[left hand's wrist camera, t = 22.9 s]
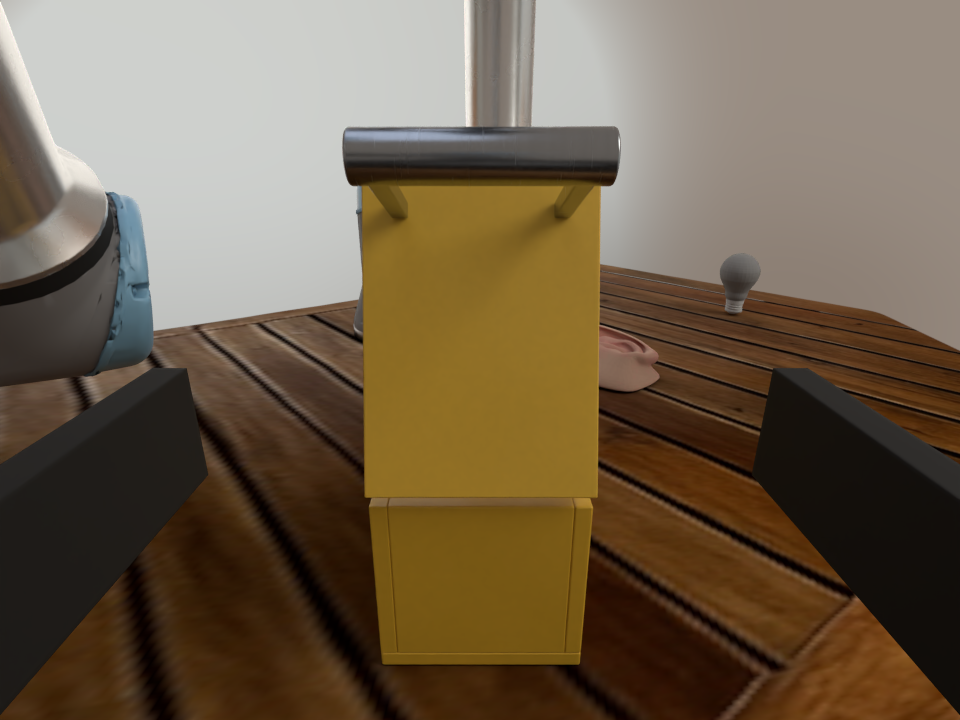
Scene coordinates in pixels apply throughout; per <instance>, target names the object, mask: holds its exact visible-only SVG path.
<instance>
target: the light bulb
mask: <svg viewBox="0 0 960 720" xmlns="http://www.w3.org/2000/svg"><path fill="white" fill-rule="evenodd" d="M759 276H760V266H759V263H758V262H757V260H756V259H755V258H754V257H753V256H751V255H748V254H744V253H740V254H735V255H732V256H730V257H729V258H728V259H726V260H725V261H724V263H723V264H722V266H721V269H720V278H721V280H722V283H723V285H724V288H725V296H726V302H727V303H726V307H725V310H726V311H727V312H729V313H731V314H737V313H740V312H742V310H741V309H742V308H741V307H743V306H742V304H743V302H744V300H745V298H746V297H747V294H748V292H749V290H750V289H751V288H752V286H753V285H754V284H755V283H756V281H757V280H758V278H759Z"/></svg>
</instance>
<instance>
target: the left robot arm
mask: <svg viewBox="0 0 960 720" xmlns="http://www.w3.org/2000/svg"><path fill="white" fill-rule="evenodd" d="M152 347H153V317H152V305H151V296H150V291H149V278H148V263H147V255H146V247H145V239H144V232H143V226H142V220H141V214H140V210H139V206H138V204H137V203H136V201H135V200H133V199H132V198H130V197H129V196H125V195H118V194H116V193H114V192H105V191H104V189H103V187H102V185H101V183H100V181H99V179H98V177H97V176H96V174H95V173H94V172H93V171H92V170H91V169H90V167H89V166H88V165H86V164H85V163H84V162H83V161H81V160H80V159H79V158H77V157H76V156H74V155H73V154H71V153H70V152H68V151H66V150H64V149H62V148H60V147H58V146H56V145H55V144H54V141H53V138H52V136H51V133H50V131H49V128H48V125H47V123H46V120H45V117H44V115H43V112H42V110H41V107H40V104H39V102H38V99H37V96H36V94H35V91H34V89H33V86H32V83H31V81H30V78H29V75H28V73H27V70H26V67H25V65H24V62H23V60H22V57H21V54H20V52H19V49H18V46H17V44H16V41H15V38H14V36H13V33H12V31H11V28H10V25H9V23H8V20H7V17H6V15H5V12H4V10H3V7H2V4H1V2H0V387H3V386H10V385H17V384H25V383H32V382H40V381H47V380H54V379H62V378H69V377H76V376H85V377H87V376H95V375H97V374H99V373H101V372H102V371H108V370H113V369H118V368H123V367H128V366H133V365H136V364H138V363H140V362H142V361H143V360H144V359H146V358H147V356H148V355H149V354H150V352H151V350H152ZM207 476H208V471H207V466H206V461H205V456H204V452H203V447H202V442H201V437H200V432H199V427H198V422H197V417H196V412H195V407H194V402H193V397H192V392H191V387H190V382H189V378H188V373H187V368H152V369H150V370H149V371H147V372H146V373H144V374H143V375H141V376H139V377H138V378H136V379H135V380H133V381H132V382H130V383H128V384H127V385H125V386H124V387H122V388H120V389H119V390H117V391H116V392H114V393H113V394H111V395H109V396H108V397H106V398H105V399H103V400H101V401H100V402H98V403H97V404H95V405H94V406H92V407H90V408H89V409H87V410H86V411H84V412H83V413H81V414H79V415H78V416H76V417H75V418H73V419H71V420H70V421H68V422H67V423H65V424H64V425H62V426H60V427H59V428H57V429H56V430H54V431H52V432H51V433H49V434H48V435H46V436H45V437H43V438H41V439H40V440H38V441H37V442H35V443H34V444H32V445H30V446H29V447H27V448H26V449H24V450H22V451H21V452H19V453H18V454H16V455H15V456H13V457H11V458H10V459H8V460H7V461H5V462H4V463H2V464H0V715H1V713H2V712H3V711H4V710H5V709H6V708H7V707H8V705H9V704H10V703H11V702H12V701H13V700H14V698H15V697H16V696H17V695H18V694H19V693H20V692H21V690H22V689H23V688H24V687H25V686H26V685H27V683H28V682H29V681H30V680H31V679H32V678H33V676H34V675H35V674H36V673H37V672H38V671H39V670H40V668H41V667H42V666H43V665H44V664H45V663H46V661H47V660H48V659H49V658H50V657H51V656H52V655H53V653H54V652H55V651H56V650H57V649H58V648H59V646H60V645H61V644H62V643H63V642H64V641H65V640H66V638H67V637H68V636H69V635H70V634H71V633H72V631H73V630H74V629H75V628H76V627H77V626H78V625H79V623H80V622H81V621H82V620H83V619H84V618H85V616H86V615H87V614H88V613H89V612H90V611H91V610H92V608H93V607H94V606H95V605H96V604H97V603H98V601H99V600H100V599H101V598H102V597H103V596H104V595H105V593H106V592H107V591H108V590H109V589H110V588H111V586H112V585H113V584H114V583H115V582H116V581H117V580H118V578H119V577H120V576H121V575H122V574H123V573H124V571H125V570H126V569H127V568H128V567H129V566H130V564H131V563H132V562H133V561H134V560H135V559H136V558H137V556H138V555H139V554H140V553H141V552H142V551H143V549H144V548H145V547H146V546H147V545H148V544H149V543H150V541H151V540H152V539H153V538H154V537H155V536H156V534H157V533H158V532H159V531H160V530H161V529H162V528H163V526H164V525H165V524H166V523H167V522H168V521H169V519H170V518H171V517H172V516H173V515H174V514H175V513H176V511H177V510H178V509H179V508H180V507H181V506H182V504H183V503H184V502H185V501H186V500H187V499H188V498H189V496H190V495H191V494H192V493H193V492H194V491H195V489H196V488H197V487H198V486H199V485H200V484H201V483H202V481H203V480H204V479H205V478H206V477H207ZM752 476H753V477H754V478H755V479H756V480H757V481H758V483H759V484H760V485H761V486H762V487H763V488H764V489H765V491H766V492H767V493H768V494H769V495H770V496H771V498H772V499H773V500H774V501H775V502H776V503H777V504H778V506H779V507H780V508H781V509H782V510H783V511H784V513H785V514H786V515H787V516H788V517H789V518H790V519H791V521H792V522H793V523H794V524H795V525H796V526H797V528H798V529H799V530H800V531H801V532H802V533H803V534H804V536H805V537H806V538H807V539H808V540H809V541H810V543H811V544H812V545H813V546H814V547H815V548H816V549H817V551H818V552H819V553H820V554H821V555H822V556H823V558H824V559H825V560H826V561H827V562H828V563H829V564H830V566H831V567H832V568H833V569H834V570H835V571H836V573H837V574H838V575H839V576H840V577H841V578H842V580H843V581H844V582H845V583H846V584H847V585H848V586H849V588H850V589H851V590H852V591H853V592H854V593H855V595H856V596H857V597H858V598H859V599H860V600H861V601H862V603H863V604H864V605H865V606H866V607H867V608H868V610H869V611H870V612H871V613H872V614H873V615H874V616H875V618H876V619H877V620H878V621H879V622H880V623H881V625H882V626H883V627H884V628H885V629H886V630H887V631H888V633H889V634H890V635H891V636H892V637H893V638H894V640H895V641H896V642H897V643H898V644H899V645H900V646H901V648H902V649H903V650H904V651H905V652H906V653H907V655H908V656H909V657H910V658H911V659H912V660H913V661H914V663H915V664H916V665H917V666H918V667H919V668H920V670H921V671H922V672H923V673H924V674H925V675H926V676H927V678H928V679H929V680H930V681H931V682H932V683H933V685H934V686H935V687H936V688H937V689H938V690H939V692H940V693H941V694H942V695H943V696H944V697H945V698H946V700H947V701H948V702H949V703H950V704H951V705H952V707H953V708H954V709H955V710H956V711H957V712H958V713H959V715H960V464H958V463H956V462H955V461H953V460H952V459H950V458H949V457H947V456H945V455H944V454H942V453H941V452H939V451H938V450H936V449H934V448H933V447H931V446H930V445H928V444H926V443H925V442H923V441H922V440H920V439H919V438H917V437H915V436H914V435H912V434H911V433H909V432H908V431H906V430H904V429H903V428H901V427H900V426H898V425H896V424H895V423H893V422H892V421H890V420H889V419H887V418H885V417H884V416H882V415H881V414H879V413H877V412H876V411H874V410H873V409H871V408H870V407H868V406H866V405H865V404H863V403H862V402H860V401H859V400H857V399H855V398H854V397H852V396H851V395H849V394H847V393H846V392H844V391H843V390H841V389H840V388H838V387H836V386H835V385H833V384H832V383H830V382H828V381H827V380H825V379H824V378H822V377H821V376H819V375H817V374H816V373H814V372H813V371H811V370H810V369H808V368H773V373H772V378H771V382H770V387H769V392H768V397H767V402H766V407H765V412H764V417H763V422H762V427H761V432H760V437H759V442H758V447H757V452H756V456H755V461H754V466H753V471H752Z"/></svg>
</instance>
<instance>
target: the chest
mask: <svg viewBox="0 0 960 720" xmlns="http://www.w3.org/2000/svg"><path fill="white" fill-rule="evenodd" d="M592 513H593V506H592V503H591V500H590V498H372V499H371V502H370V505H369V515H370V527H371V539H372V551H373V563H374V575H375V586H376V598H377V610H378V622H379V634H380V646H381V655H382V664H384V665H578V664H579V663H580V651H581V641H582V629H583V618H584V606H585V594H586V583H587V571H588V559H589V548H590V536H591V524H592Z"/></svg>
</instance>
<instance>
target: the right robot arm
mask: <svg viewBox="0 0 960 720" xmlns="http://www.w3.org/2000/svg"><path fill="white" fill-rule="evenodd" d="M535 9H536V0H464V12H465V89H466V127H531V125H532V96H533V67H534V37H535ZM356 214H358V227H359V239H360V251H361V263H362V186H357V210H356ZM354 334H355V336H356V337H357V338H358V339H360V340H362V341H363V285H362V289H361V293H360V297H359V301H358V305H357V309H356V313H355V317H354Z"/></svg>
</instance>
